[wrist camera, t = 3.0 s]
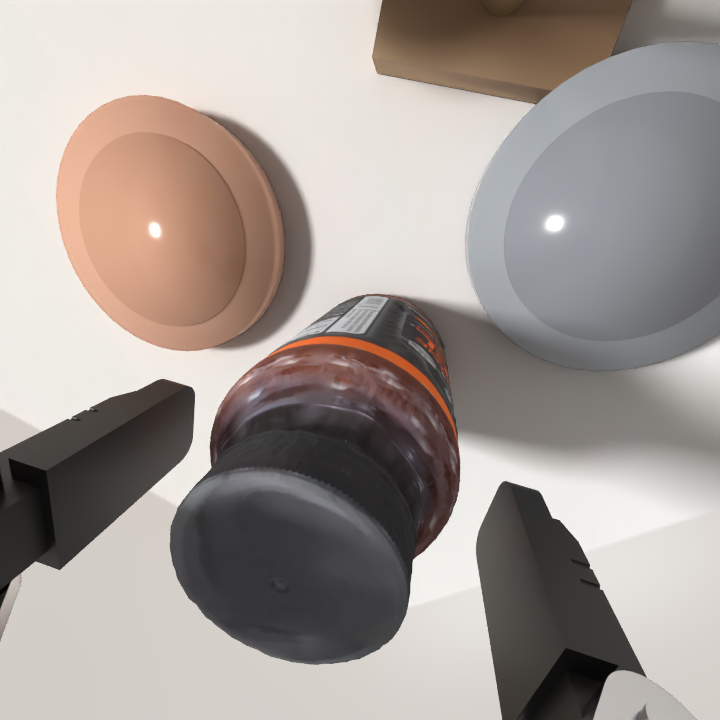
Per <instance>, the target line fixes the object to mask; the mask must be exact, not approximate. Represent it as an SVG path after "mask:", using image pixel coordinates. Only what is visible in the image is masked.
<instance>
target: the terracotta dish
mask: <svg viewBox="0 0 720 720" xmlns="http://www.w3.org/2000/svg"><path fill="white" fill-rule="evenodd" d="M56 201H57V215H58V221H59V228H60V231H61V235H62V239H63V243H64V246H65V249H66V251H67V254H68V257H69V259H70V261H71V264H72V266H73V268H74V270H75V272H76V274H77V276H78V277H79V279H80V281H81V282H82V284H83V286H84V287H85V289H86V290H87V292H88V293H89V294H90V296H91V297H92V299H93V300H94V301H95V302H96V303H97V304H98V306H99V307H100V308H101V309H102V310H103V311H104V312H105V313H106V314H107V315H108V316H109V317H110V318H111V319H112V320H113V321H115V322H116V323H117V324H118V325H120V326H121V327H122V328H123V329H125V330H126V331H128V332H130V333H131V334H133V335H134V336H136V337H138V338H140V339H142V340H144V341H146V342H148V343H151V344H153V345H156V346H159V347H162V348H167V349H171V350H179V351H197V350H203V349H208V348H212V347H214V346H217V345H220V344H222V343H224V342H226V341H228V340H230V339H232V338H234V337H236V336H238V335H239V334H241V333H243V332H245V331H246V330H247V329H249V328H250V327H251V326H253V325H254V324H255V323H256V322H257V321H258V320H259V319H260V318H261V317H262V316H263V314H264V313H265V312H266V310H267V309H268V307H269V306H270V304H271V302H272V300H273V298H274V296H275V294H276V292H277V290H278V287H279V284H280V281H281V277H282V272H283V267H284V257H285V237H284V228H283V222H282V216H281V212H280V209H279V205H278V202H277V199H276V196H275V194H274V191H273V189H272V187H271V184H270V182H269V180H268V178H267V177H266V175H265V173H264V171H263V169H262V168H261V166H260V165H259V163H258V162H257V160H256V159H255V158H254V156H253V155H252V153H251V152H250V151H249V150H248V149H247V148H246V147H245V146H244V144H243V143H242V142H241V141H240V140H239V139H238V138H237V137H235V136H234V135H233V134H232V133H231V132H230V131H228V130H227V129H226V128H224V127H223V126H221V125H220V124H218V123H217V122H215V121H214V120H212V119H210V118H209V117H207V116H205V115H203V114H201V113H199V112H197V111H196V110H194V109H192V108H190V107H187V106H185V105H183V104H181V103H179V102H176V101H173V100H170V99H166V98H163V97H157V96H149V95H138V96H128V97H123V98H119V99H115V100H113V101H111V102H109V103H106V104H104V105H102V106H101V107H99V108H98V109H96V110H95V111H93V112H92V113H91V114H89V115H88V116H87V117H86V118H85V119H84V120H83V121H82V122H81V124H80V125H79V126H78V128H77V129H76V130H75V132H74V133H73V135H72V136H71V138H70V140H69V142H68V144H67V146H66V148H65V151H64V154H63V157H62V160H61V163H60V167H59V173H58V178H57V191H56Z"/></svg>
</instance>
